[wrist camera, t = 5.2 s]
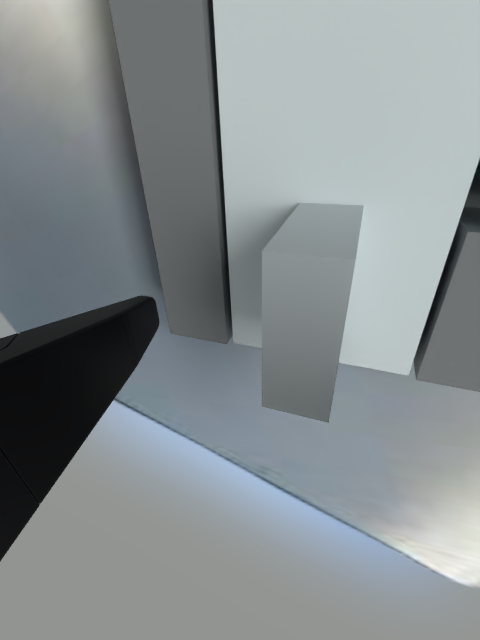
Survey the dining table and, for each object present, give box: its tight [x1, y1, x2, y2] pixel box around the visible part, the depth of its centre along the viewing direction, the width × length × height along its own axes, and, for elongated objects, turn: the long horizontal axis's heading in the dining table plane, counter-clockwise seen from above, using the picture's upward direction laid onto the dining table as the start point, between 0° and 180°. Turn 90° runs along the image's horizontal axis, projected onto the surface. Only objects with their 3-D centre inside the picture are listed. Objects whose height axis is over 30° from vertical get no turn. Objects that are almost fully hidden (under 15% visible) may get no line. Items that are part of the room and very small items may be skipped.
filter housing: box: [108, 0, 480, 392], centre depth 11 cm, size 16×14×4 cm
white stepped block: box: [213, 0, 480, 423], centre depth 10 cm, size 14×7×7 cm, turn 2°
